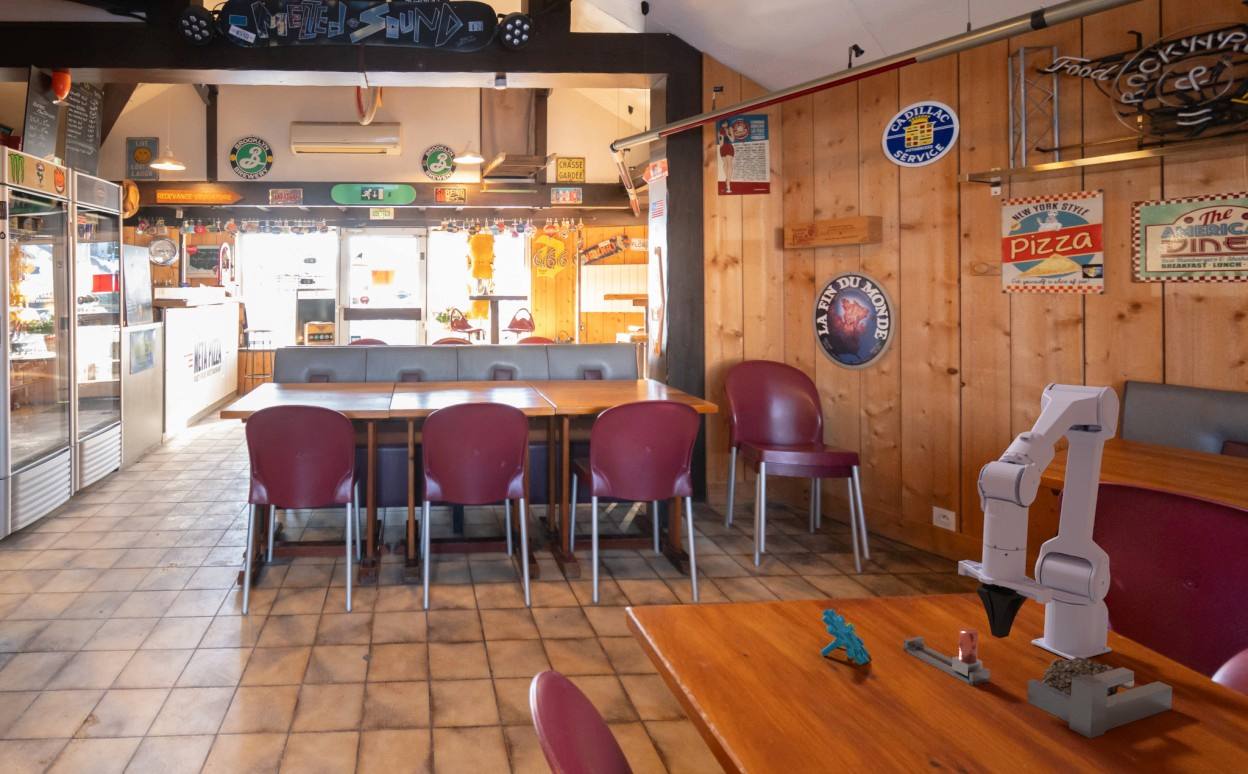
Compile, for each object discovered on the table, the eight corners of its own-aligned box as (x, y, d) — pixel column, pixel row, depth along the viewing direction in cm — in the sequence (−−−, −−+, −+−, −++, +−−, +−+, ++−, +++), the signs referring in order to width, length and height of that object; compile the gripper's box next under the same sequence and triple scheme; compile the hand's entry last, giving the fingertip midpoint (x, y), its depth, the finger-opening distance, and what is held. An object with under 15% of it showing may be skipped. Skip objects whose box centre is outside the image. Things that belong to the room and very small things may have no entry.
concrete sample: (1065, 678, 125) (1066, 647, 125) (1134, 706, 117) (1136, 672, 116) (1020, 697, 119) (1021, 663, 119) (1089, 727, 111) (1091, 691, 110)
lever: (966, 664, 128) (967, 626, 127) (981, 672, 125) (983, 633, 124) (952, 668, 126) (953, 629, 126) (967, 676, 124) (969, 636, 123)
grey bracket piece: (1103, 679, 125) (1106, 635, 124) (1174, 710, 115) (1177, 662, 114) (1021, 703, 117) (1023, 656, 116) (1089, 738, 108) (1093, 687, 107)
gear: (865, 666, 125) (822, 612, 129) (836, 688, 127) (794, 634, 130) (878, 649, 135) (837, 599, 139) (851, 670, 137) (811, 620, 140)
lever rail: (920, 646, 137) (920, 636, 136) (989, 681, 124) (990, 669, 124) (903, 650, 135) (904, 639, 135) (972, 685, 123) (972, 674, 122)
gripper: (945, 535, 123) (941, 622, 125) (1029, 562, 110) (1024, 659, 111) (978, 530, 126) (974, 615, 128) (1064, 555, 113) (1059, 650, 114)
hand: (1000, 635), depth 120 cm, fingers closed
